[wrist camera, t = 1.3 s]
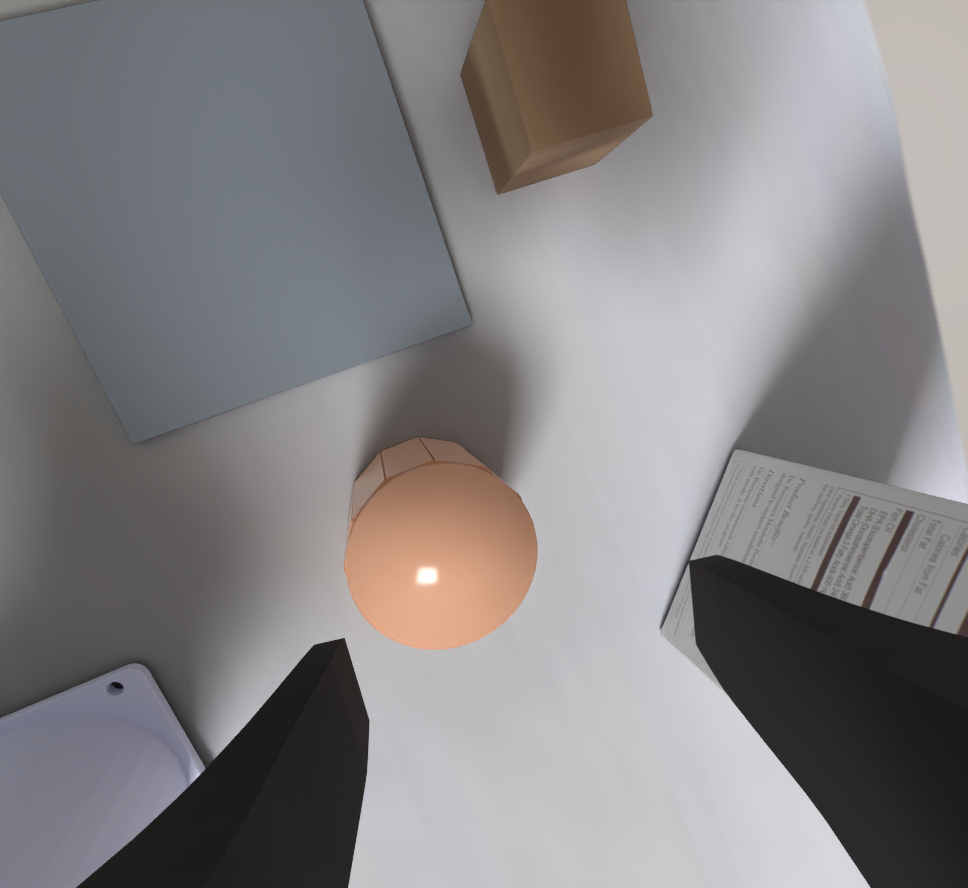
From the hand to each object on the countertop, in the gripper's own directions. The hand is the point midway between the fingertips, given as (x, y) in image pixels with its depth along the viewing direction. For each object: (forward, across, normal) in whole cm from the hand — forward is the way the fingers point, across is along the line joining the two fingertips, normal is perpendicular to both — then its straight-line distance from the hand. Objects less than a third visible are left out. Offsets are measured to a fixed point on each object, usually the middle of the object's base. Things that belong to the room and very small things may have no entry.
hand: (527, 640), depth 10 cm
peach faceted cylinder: (+10, +2, 0) cm, 10 cm away
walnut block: (+12, -4, -12) cm, 18 cm away
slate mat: (+10, +6, -11) cm, 16 cm away
